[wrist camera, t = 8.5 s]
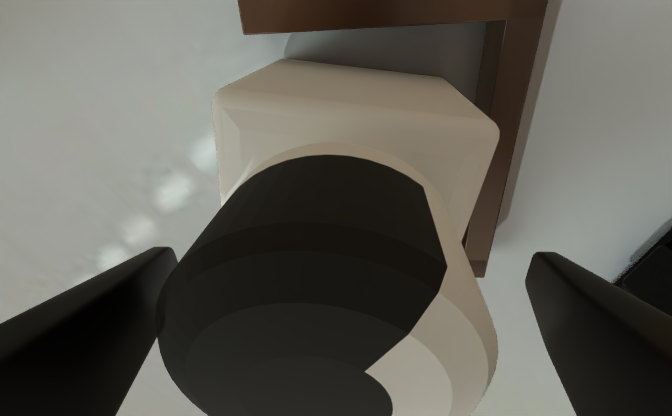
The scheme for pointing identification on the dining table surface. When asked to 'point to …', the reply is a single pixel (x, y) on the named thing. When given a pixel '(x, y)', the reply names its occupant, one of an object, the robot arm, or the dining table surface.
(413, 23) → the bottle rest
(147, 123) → the dining table surface
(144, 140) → the dining table surface
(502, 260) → the dining table surface
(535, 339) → the dining table surface
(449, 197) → the medicine bottle
